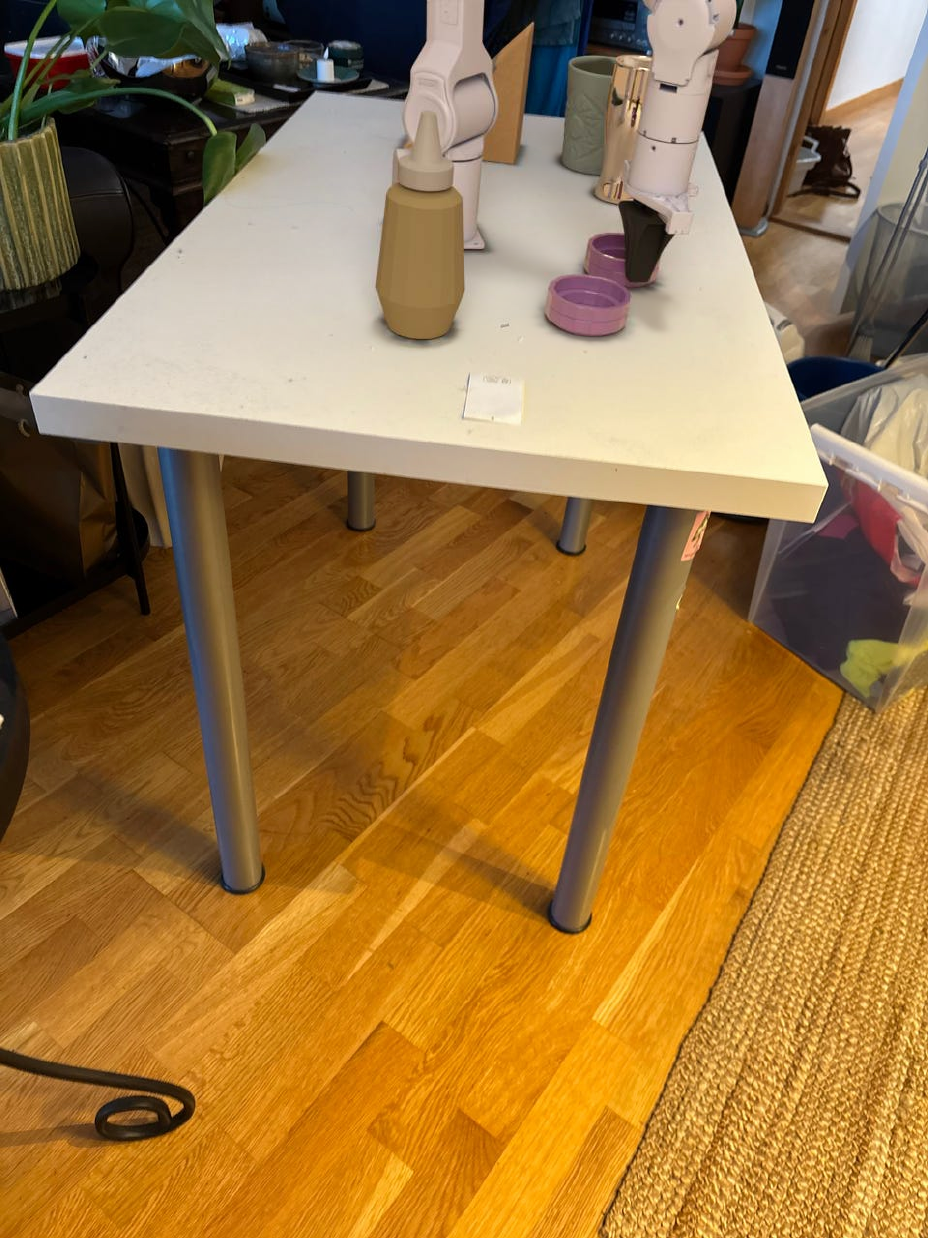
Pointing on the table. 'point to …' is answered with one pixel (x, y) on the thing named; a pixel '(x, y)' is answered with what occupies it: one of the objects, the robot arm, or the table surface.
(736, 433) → the table surface
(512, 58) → the sandwich container
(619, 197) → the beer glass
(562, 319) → the dish near
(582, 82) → the green vase
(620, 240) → the dish far
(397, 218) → the squeeze bottle
